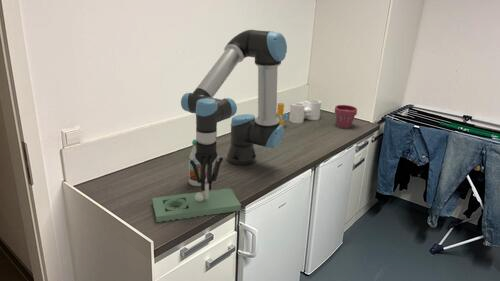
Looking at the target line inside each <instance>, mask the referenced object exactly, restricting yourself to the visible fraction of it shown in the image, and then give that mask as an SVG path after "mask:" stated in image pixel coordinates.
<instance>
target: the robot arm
mask: <svg viewBox="0 0 500 281" xmlns="http://www.w3.org/2000/svg"><path fill="white" fill-rule="evenodd" d="M287 50H288V45H287V41H286V38H285V36H284V35H283V34H282V33H281V32H276V31H273V30H272V31H271V30H259V29H258V30H256V29H246V30H244V31H241V32H239V33H238V34H237V35H235V36H234V37H232V39H231V40H230V41H228V42H227V44H226V45H225V47H224V49H223V53H222V54H221V55H220V57H219V58H218V59H217V61H216V62H215V63H214V64H213V66H212V67H211V69H209V70H208V72H207V73H206V74H205V76H204V78H203V79H202V80H201V82H200V83H199V84H198V85H197V87H196V88H195V90H193V92H185V93H184V94H183V95H182V97H181V98H180V105H181V108H182V110H184V111H185V112H188V113H191V114H195V126H196V128H195V139H196V140H197V141H196V154H195V157H194V158H192V159H191V158H190V159H189V158H188V162H189V161H190V163H191V165H192V167H193V170H194V174H195V177H196V180H197V182H198V183H201V186H200V189H201V192H203V194H204V198H205V199H209V191H212V184H213V182H217V178H218V175H219V171H220V167H221V164H222V162H223V161H224V158H223V156H222V155H218V152H217V140H218V138H217V136H218V135H217V134H218V133H217V132H218V131H217V130H218V127H217V126H218V123H220V122H222V121H224V120H227V119H231V123H230V146H229V148H228V150H227V153H226V160H227V162H229V163H230V164H233V165H238V166H246V165H247V166H248V165H252V164H254V163H255V162H257V154H256V150H255V145H257V146H261V147H263V148H264V147H265V148H269V149H276V148H277V147H279V146H280V144H281V142H282V140H283V137H284V134H285V128H284V127H283V126H281V125H279V122H280V120H279V118H277V117H276V113H277V108H278V100H277V99H278V70H279V69H278V68H279V67H280V65H281V64H282V61H284V60H285V58H286V55H287V52H288V51H287ZM247 57H248V58H249V57H250V58H254V64H255V65H256V66H257V79H258V80H257V116H255V115H254V114H249V113H247V114H246V113H245V114H239V115H238V114H237V115H236V113H237V111H238V106H237V103H236V101H235V100H234V99H232V98H231V97H230V98H229V97H226V98H223V99H222V98H221V99H219V98H215V97H214V96H215V95H216V94H217V92H218V91H219V90H220V89H221V87H222V85H223V84H224V83H225V82H226V80H227V78H228V77H229V76H230V75H231V73H232V71H233V70H234V69H235V67H237V65H238V64H239V63H241V62H243V61H244V59H245V58H247ZM231 117H232V118H231ZM196 160H198V162H199V163H200V165H201V179H200V178H199V174H198V170H197V167H196ZM213 163H214V167H213ZM206 165H207V181H205V167H206Z"/></svg>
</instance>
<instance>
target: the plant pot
mask: <svg viewBox="0 0 500 281" xmlns="http://www.w3.org/2000/svg"><path fill="white" fill-rule="evenodd" d="M334 113H335V118H336V119H335V120H336V122H335V123H336V126H337V127H338V128H340V127H341V128H342V129H350V128H351V126H352V125H353V121H354V119H355V116H356V115H357V114H358V108H357V107H355V106H353V105H349V104H348V105H347V104H337V105H335V106H334Z"/></svg>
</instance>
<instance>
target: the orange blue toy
mask: <svg viewBox="0 0 500 281" xmlns="http://www.w3.org/2000/svg"><path fill="white" fill-rule="evenodd" d="M284 108H285V104H284V103H282V102H279V103H278V102H277V113H276V117H277V118H279V120H280V122H279V125H281V126H283V128H284V127H285V122H287V121H289V114H288V113H287V112H284V110H285V109H284Z"/></svg>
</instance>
